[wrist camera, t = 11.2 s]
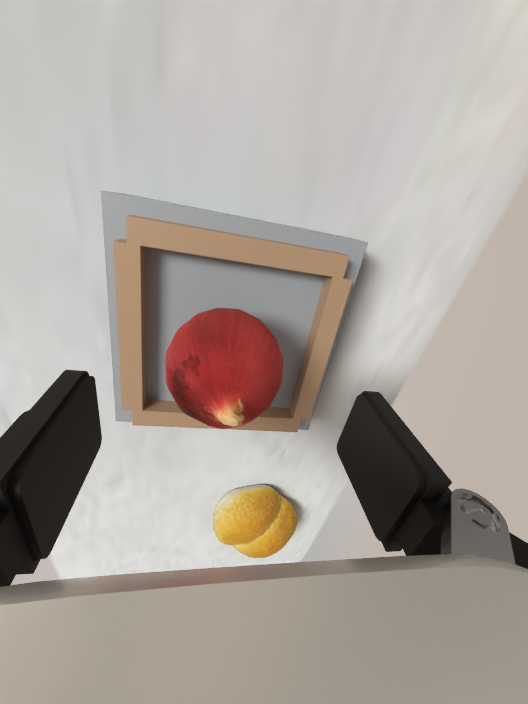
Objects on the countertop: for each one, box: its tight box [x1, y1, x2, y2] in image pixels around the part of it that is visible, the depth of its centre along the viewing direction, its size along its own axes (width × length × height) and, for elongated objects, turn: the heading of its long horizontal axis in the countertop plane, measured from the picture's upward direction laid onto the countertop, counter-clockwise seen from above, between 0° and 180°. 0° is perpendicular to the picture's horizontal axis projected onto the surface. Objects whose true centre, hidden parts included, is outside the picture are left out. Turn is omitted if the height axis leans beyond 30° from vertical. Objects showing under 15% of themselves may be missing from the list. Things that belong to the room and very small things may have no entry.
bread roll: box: [213, 484, 297, 558], centre depth 29 cm, size 8×9×4 cm
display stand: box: [101, 191, 368, 432], centre depth 18 cm, size 14×14×4 cm
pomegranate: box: [165, 308, 283, 429], centre depth 14 cm, size 6×6×8 cm
